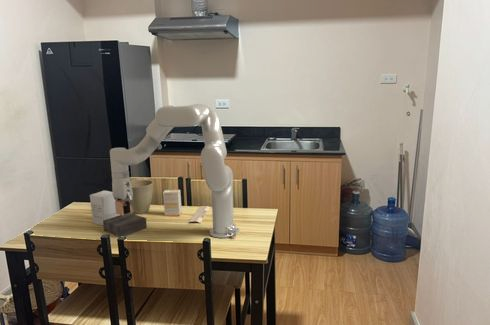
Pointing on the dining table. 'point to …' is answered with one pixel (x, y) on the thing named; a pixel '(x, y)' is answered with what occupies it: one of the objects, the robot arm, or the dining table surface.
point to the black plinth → (124, 224)
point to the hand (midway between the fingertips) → (123, 211)
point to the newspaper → (199, 214)
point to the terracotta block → (120, 207)
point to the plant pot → (141, 195)
